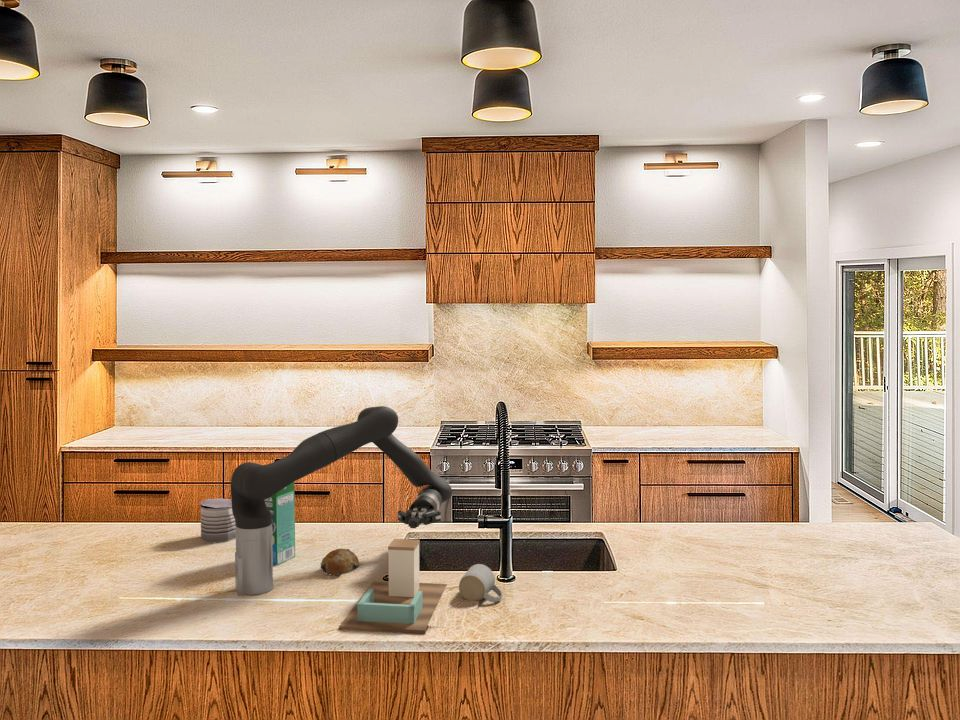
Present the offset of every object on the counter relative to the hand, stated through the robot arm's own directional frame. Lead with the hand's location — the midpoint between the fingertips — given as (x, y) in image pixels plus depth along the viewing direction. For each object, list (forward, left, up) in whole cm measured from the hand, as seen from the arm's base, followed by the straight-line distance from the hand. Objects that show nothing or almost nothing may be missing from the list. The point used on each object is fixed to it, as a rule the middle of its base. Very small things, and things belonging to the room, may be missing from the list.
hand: (412, 524), depth 206 cm
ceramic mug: (+12, -18, -16) cm, 27 cm away
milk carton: (-32, +33, -16) cm, 49 cm away
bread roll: (-16, +16, -16) cm, 28 cm away
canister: (-5, -9, -15) cm, 18 cm away
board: (-9, -16, -15) cm, 24 cm away
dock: (-12, -21, -15) cm, 29 cm away
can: (-45, +62, -16) cm, 79 cm away
